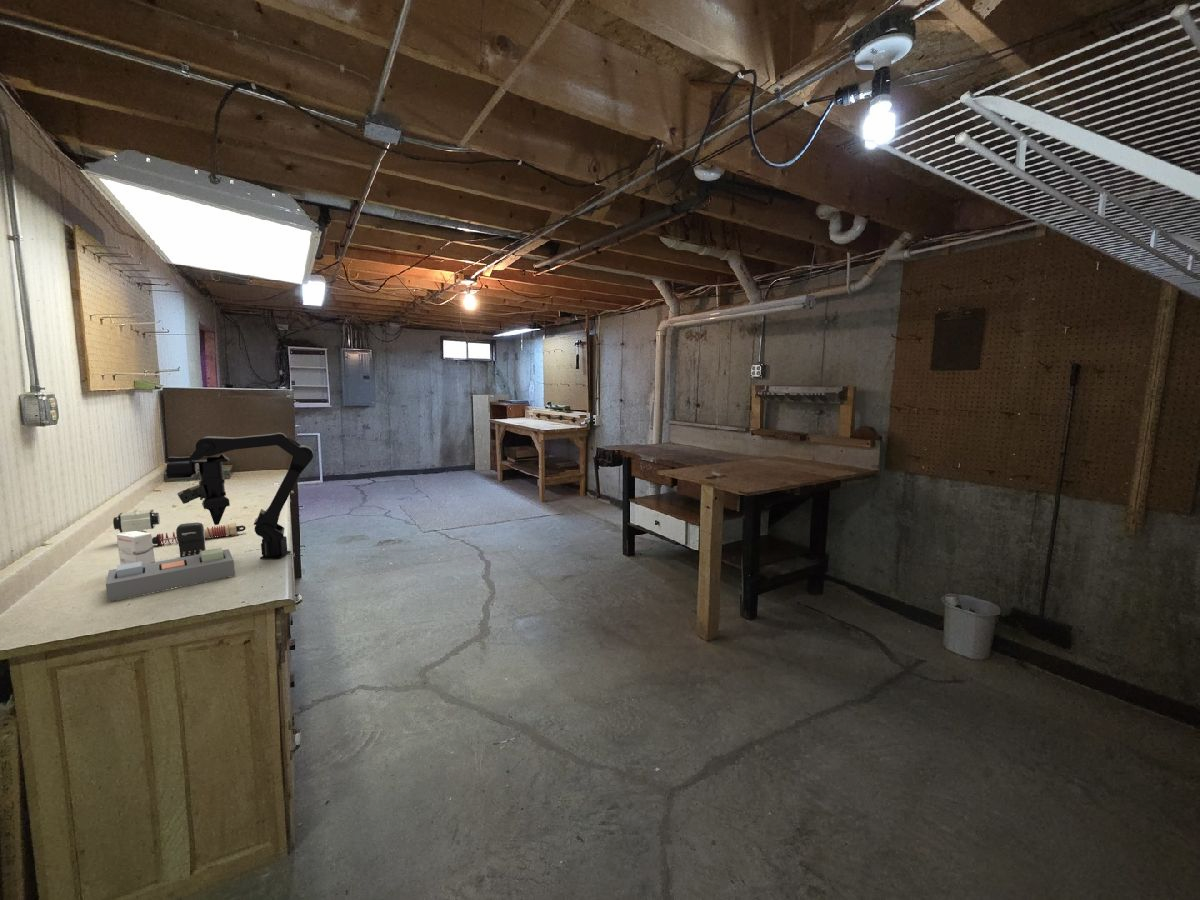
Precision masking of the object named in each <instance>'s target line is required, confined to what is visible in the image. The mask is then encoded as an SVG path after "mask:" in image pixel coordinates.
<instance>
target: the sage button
mask: <svg viewBox="0 0 1200 900" xmlns="http://www.w3.org/2000/svg"><path fill="white" fill-rule="evenodd" d="M223 550H224V549H223V548H222V547H217V548H211V549H206V550H204V551H201V560H202V562H207V561H213V560H218V559H223V558H224V556H223Z"/></svg>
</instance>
